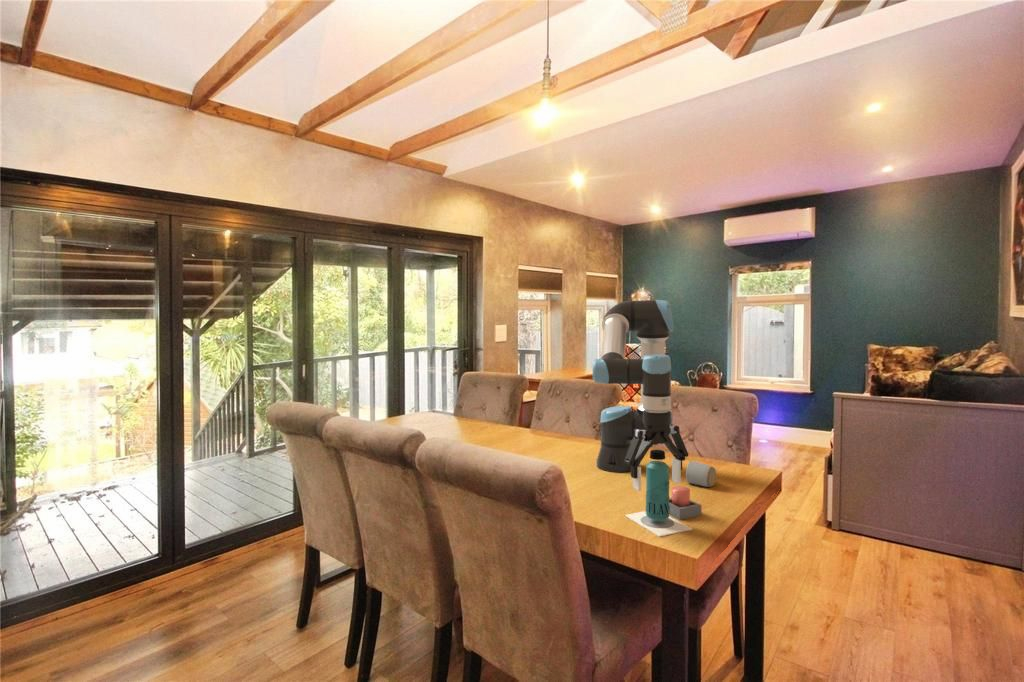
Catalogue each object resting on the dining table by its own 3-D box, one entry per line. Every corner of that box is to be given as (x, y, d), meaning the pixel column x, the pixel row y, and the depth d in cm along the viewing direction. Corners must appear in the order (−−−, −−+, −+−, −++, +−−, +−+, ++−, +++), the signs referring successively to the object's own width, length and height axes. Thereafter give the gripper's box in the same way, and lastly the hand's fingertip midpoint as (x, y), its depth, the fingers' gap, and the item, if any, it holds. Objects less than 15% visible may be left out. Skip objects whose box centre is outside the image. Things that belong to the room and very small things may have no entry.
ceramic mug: (709, 490, 158) (709, 467, 158) (685, 485, 164) (685, 462, 164) (720, 483, 166) (720, 461, 166) (697, 478, 171) (697, 456, 171)
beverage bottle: (644, 524, 131) (644, 452, 131) (646, 515, 137) (646, 446, 137) (669, 527, 129) (669, 454, 128) (670, 518, 135) (670, 448, 135)
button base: (660, 509, 142) (660, 499, 142) (681, 505, 145) (681, 495, 145) (679, 519, 135) (679, 509, 135) (701, 515, 138) (701, 504, 138)
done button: (668, 504, 141) (668, 487, 141) (681, 501, 143) (681, 485, 143) (680, 510, 137) (680, 492, 137) (693, 507, 139) (693, 490, 138)
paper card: (624, 516, 138) (624, 514, 138) (655, 510, 142) (655, 508, 142) (659, 537, 124) (659, 535, 124) (692, 529, 128) (692, 528, 128)
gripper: (627, 416, 124) (627, 497, 125) (701, 408, 133) (701, 483, 134) (611, 411, 131) (611, 487, 132) (682, 404, 140) (682, 475, 141)
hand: (657, 485), depth 133 cm, fingers open, 13 cm apart
